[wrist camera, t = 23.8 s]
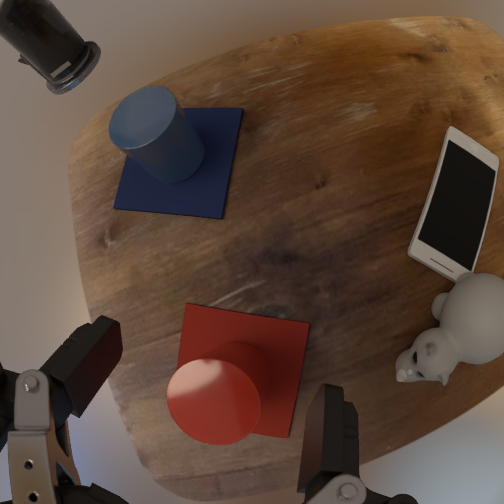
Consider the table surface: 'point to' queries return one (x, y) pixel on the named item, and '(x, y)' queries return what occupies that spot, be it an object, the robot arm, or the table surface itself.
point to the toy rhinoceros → (458, 330)
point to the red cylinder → (220, 393)
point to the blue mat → (197, 185)
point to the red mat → (262, 338)
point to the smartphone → (456, 207)
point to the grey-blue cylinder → (157, 135)
